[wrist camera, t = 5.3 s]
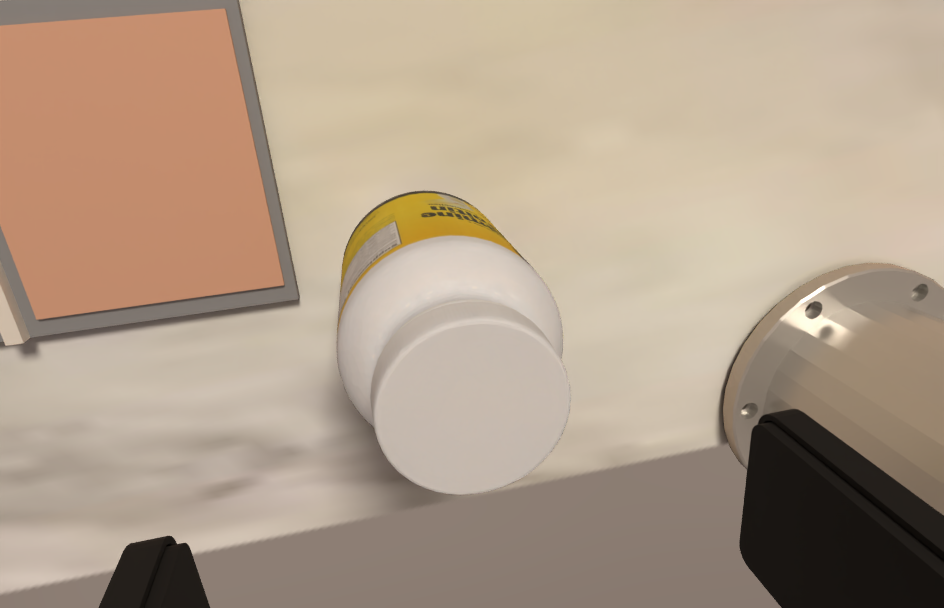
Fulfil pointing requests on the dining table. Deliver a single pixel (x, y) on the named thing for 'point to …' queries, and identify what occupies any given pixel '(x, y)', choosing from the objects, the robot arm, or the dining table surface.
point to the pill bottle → (450, 345)
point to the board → (132, 167)
